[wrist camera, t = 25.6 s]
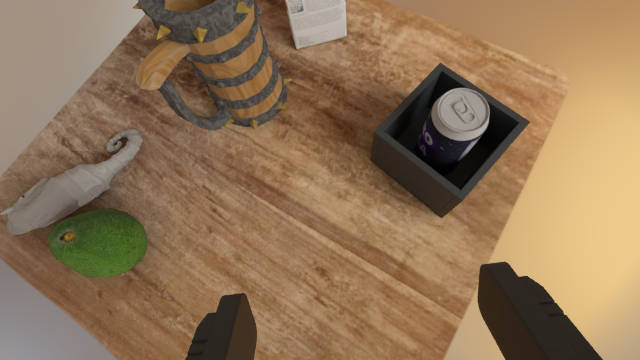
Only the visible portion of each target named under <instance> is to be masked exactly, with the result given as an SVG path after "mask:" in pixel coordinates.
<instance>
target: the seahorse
mask: <svg viewBox="0 0 640 360" xmlns="http://www.w3.org/2000/svg"><path fill="white" fill-rule="evenodd" d="M126 137H127V138H128V142H126V146H125V147H124V148H123V149H120V151H119V152H118V153H117V154H115V155H112V157H111V158H110V159H108V160H106V161H104V162H100V163H99V164H94V165H92V164H78V165H77V166H76V167H74V168H73V169H69V170H65V172H64V173H63V174H60V175H58V176H56V177H51V178H48V177H43V178H42V179H39V182H38V183H37V184H36V185H35V186H33V187H32V188H31V189H30V190H29V191H27V192H26V193H24V195H22V196H20V197H19V199H18V200H17V202H15V203H14V204H13V205H12V206H11V207H8V208H7V209H5V210H4V211H2V212H1V213H0V215H4V214H7V216H8V218H9V219H8V221H7V224H8V225H7V229H8V231H10V233H12V234H13V235H19V234H23V233H26V232H28V231H31V230H33V229H36V228H42V227H46V226H48V225H50V224H52V223H54V222H56V221H57V220H59V219H61V218H62V217H65V216H67V215H69V214H71V213H73V212H74V211H76V210H77V209H79V208H80V207H82V206H84V205H87V204H89V203H90V201H92V200H93V199H94V198H99V195H100V194H101V193H102V192H104V191H106V190H109V189H110V181H111V179H112V178H113V176H115V175H116V174H117V172H118V171H119V170H120V169H122V168H123V167H126V165H127V164H128V162H129V161H130V160H133V157H134V156H135V155H136V154H137V152H138V151H140V149H139V148H140V146H141V144H142V142H143V139H142V136H141V134H140V132H139V131H137V130H136V129H129V130H125V131H121V132H120V133H118V134H115V135H114V137H113V138H112V139H109V142H108V143H107V144H106V148H107V151H108V152H109V153H112V152H114V151H115V150H119V148H120V147H121V146H122V142H121V141H117V140H120V139H121V138H126ZM116 141H117V145H115V146H114V144H116Z"/></svg>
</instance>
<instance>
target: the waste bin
mask: <svg viewBox="0 0 640 360" xmlns="http://www.w3.org/2000/svg"><path fill="white" fill-rule="evenodd" d="M456 88H468V89H471V90H474V91H476V92H478V93H479V94H481V95H482V96H483V97H484V98H485V99H486V101H487V103H488V105H489V109H490V115H489V124H488V127H487V129H486V131H485V132H484V133H483V135H482V136H481V137H480V138H479V140H478V141H477V142H476V143H475V145H474V146H473V147H472V148H471V149H470V151H469V152H468V153H467V154H466V156H465V157H464V158H463V159H462V161H461V162H460V163H459V164H458V165H457V167H456V168H455V169H454V170H453V171H451V172H449V173H447V174H443V175H440V174H439V173H438V172H436V171H435V170H434V169H432V168H431V167H430V166H428V165H427V164H426V163H425V162H423V161H422V160H421V159H419V158H418V157H417V156H415V155H414V150H415V146H416V144H417V141H418V139H419V136H420V134H421V132H422V129H423V127H424V124H425V122H426V120H427V117H428V115H429V113H430V110H431V108H432V105H433V104H434V102H435V101H436V100H437V99H438V98H439V97H441V96H442V95H444V94H445V93H446V92H448V91H450V90H452V89H456ZM529 123H530V121H528V120H527V119H525V118H523V117H522V116H520V115H519V114H517V113H516V112H514V111H513V110H511V109H510V108H508V107H507V106H505V105H504V104H502V103H501V102H499V101H498V100H496V99H494V98H493V97H491V96H490V95H488V94H487V93H485V92H484V91H482V90H481V89H479V88H478V87H476V86H475V85H473V84H472V83H470V82H469V81H467V80H466V79H464V78H463V77H461V76H460V75H458V74H457V73H455V72H453V71H452V70H450V69H449V68H447V67H446V66H444V65H443V64H441V63H440V64H439V65H438V66H437V67H436V68H435V69H434V70H433V71H432V72H431V73H430V74H429V75H428V76H427V77H426V78H425V79H424V80H423V81H422V82H421V84H420V85H419V86H418V87H417V88H416V89H415V90H414V91H413V92H412V93H411V94H410V95H409V96H408V97H407V98H406V99H405V100H404V101H403V102H402V103H401V104H400V105H399V107H398V108H397V109H396V110H395V111H394V112H393V113H392V114H391V115H390V116H389V117H388V118H387V119H386V120H385V121H384V122H383V123H382V124H381V125H380V126H379V127H378V128H377V129H376V131H375V132H374V137H373V145H372V152H371V161H372V162H373V163H375V164H376V165H377V166H378V167H379V168H381V169H382V170H383V171H384V172H386V173H387V174H388V175H389V176H391V177H392V178H393V179H394V180H396V181H397V182H398V183H399V184H401V185H402V186H403V187H404V188H405V189H407V190H408V191H409V192H410V193H412V194H413V195H414V196H415V197H417V198H418V199H419V200H420V201H422V202H423V203H424V204H425V205H426V206H428V207H429V208H430V209H431V210H433V211H434V212H435V213H436V214H438V215H439V216H440V217H441V218H442V217H444V216H445V215H446V214H447V213H448V212H450V211H451V210H452V209H453V208H455V207H456V206H457V205H458V204H459V203H461V202H462V201H463V200H464V199H465V198H466V196H467V195H468V194H469V193H470V192H471V191H472V189H473V188H474V187H475V186H476V185H477V183H478V182H479V181H480V180H481V179H482V178H483V176H484V175H485V174H486V173H487V172H488V171H489V169H490V168H491V167H492V166H493V165H494V164H495V162H496V161H497V160H498V159H499V158H500V157H501V155H502V154H503V153H504V152H505V151H506V150H507V148H508V147H509V146H510V145H511V144H512V143H513V141H514V140H515V139H516V138H517V137H518V136H519V134H520V133H521V132H522V131H523V130H524V129H525V127H526V126H527V125H528V124H529Z"/></svg>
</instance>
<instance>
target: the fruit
mask: <svg viewBox="0 0 640 360" xmlns="http://www.w3.org/2000/svg"><path fill="white" fill-rule="evenodd" d="M48 242H49V246H50V251H51V253H52V254H53V255H54V256H55V257H56V258H57V259H58V260H59V261H60V262H62V263H63V264H64V265H66V266H68V267H70V268H71V269H73V270H74V271H75V272H77V273H79V274H82V275H84V276H89V277H112V276H116V275H119V274H123V273H125V272H127V271H129V270H130V269H132V268H133V267H134V266H135V265H136V264H137V263H138V262H140V261H141V259H142V258H143V256H144V255H145V252H146V249H147V237H146V233H145V230H144V227H143V226H142V224H141V223H140V222H139V221H138V220H137V219H136V218H134V217H133V216H131V215H130V214H128V213H126V212H123V211H119V210H115V209H98V210H93V211H89V212H86V213H82V214H79V215H76V216H73V217H70V218H67V219H65V220H63V221H62V222H60V223H58V224H57V225H56V226H55V227H54V228H53V230H52V231H51V233H50V234H49V236H48Z"/></svg>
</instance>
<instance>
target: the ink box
mask: <svg viewBox="0 0 640 360" xmlns="http://www.w3.org/2000/svg"><path fill="white" fill-rule="evenodd" d="M284 1H285V6H286V11H287V14H288V19H289V23H290V27H291V32H292V36H293V40H294V43H295V47H296V49H301V48H305V47H309V46H313V45H317V44H321V43H325V42H329V41H332V40H336V39H340V38H343V37H346V36H347V32H346V1H345V0H284Z"/></svg>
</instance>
